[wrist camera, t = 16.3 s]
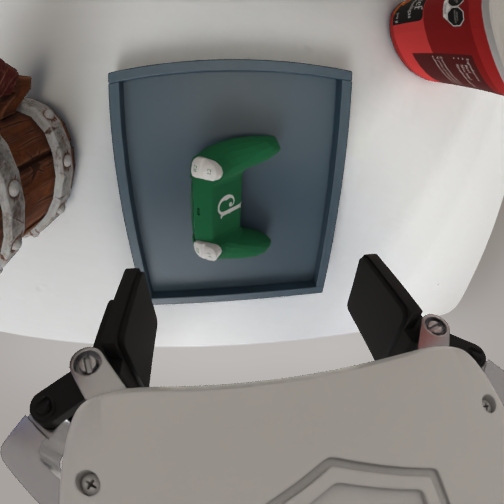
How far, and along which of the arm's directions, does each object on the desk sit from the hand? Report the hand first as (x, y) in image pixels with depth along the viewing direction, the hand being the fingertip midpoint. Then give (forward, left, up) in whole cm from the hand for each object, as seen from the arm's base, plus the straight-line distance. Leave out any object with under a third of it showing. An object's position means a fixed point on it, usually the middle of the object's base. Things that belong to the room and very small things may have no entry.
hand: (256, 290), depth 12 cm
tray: (0, 0, -11) cm, 11 cm away
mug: (+6, +17, -12) cm, 22 cm away
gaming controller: (0, 0, -11) cm, 11 cm away
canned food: (+15, -16, -12) cm, 25 cm away
